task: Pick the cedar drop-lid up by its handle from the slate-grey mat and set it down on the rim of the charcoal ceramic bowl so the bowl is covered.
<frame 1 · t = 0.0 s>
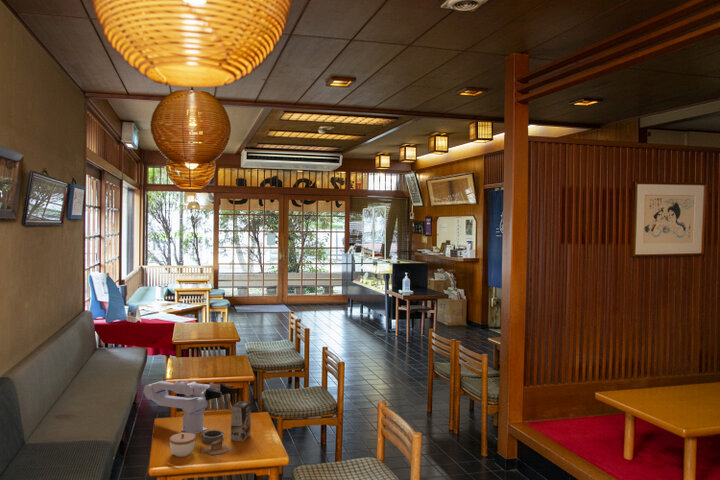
hand: (226, 392, 256), 22 cm above the table, tool horizontal, fingers open, 7 cm apart
lid: (216, 450, 243), resting on mat
lidded jar: (182, 455, 238), on the table
mat: (216, 451, 243), on the table
bowl: (212, 440, 255), on the table
coffee box: (240, 438, 258), on the table
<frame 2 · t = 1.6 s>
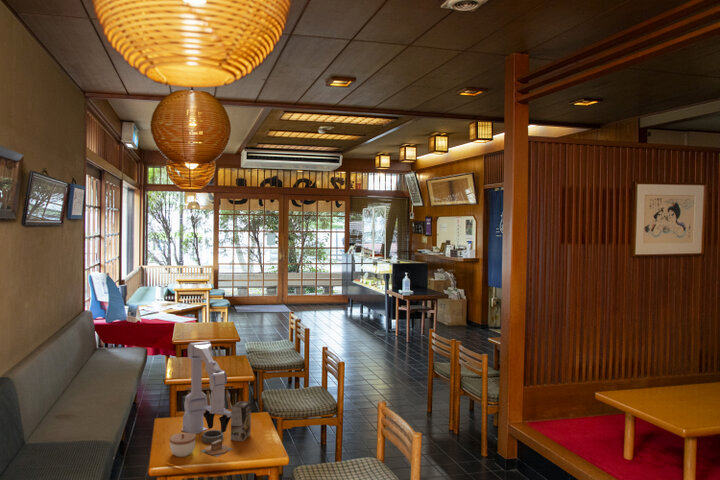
hand: (217, 430, 243), 9 cm above the table, tool pointing down, fingers open, 7 cm apart
nothing on the table moved.
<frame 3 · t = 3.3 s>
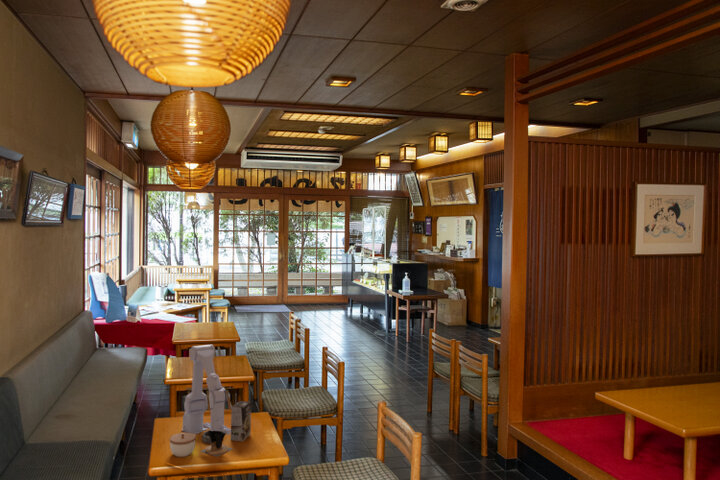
hand: (216, 447, 243), 2 cm above the table, tool pointing down, fingers closed on lid, 2 cm apart
lid: (216, 450, 243), resting on mat, touching gripper
everything else where it was.
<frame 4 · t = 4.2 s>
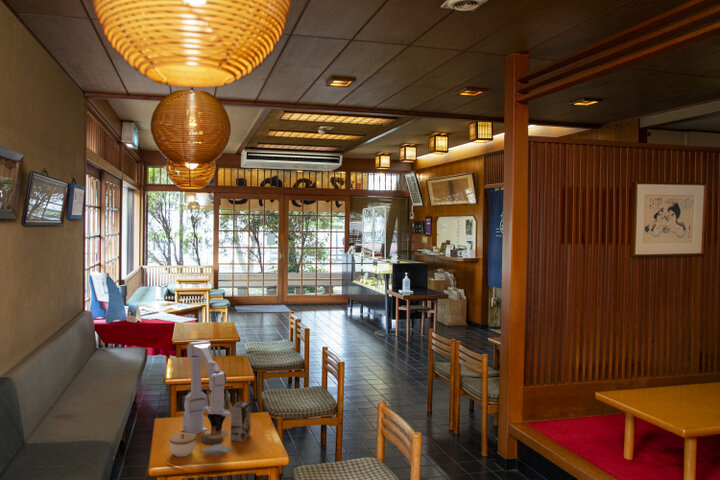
hand: (216, 430, 244), 9 cm above the table, tool pointing down, fingers closed on lid
lid: (216, 434, 244), point 7 cm above the table, touching gripper
everything else where it was.
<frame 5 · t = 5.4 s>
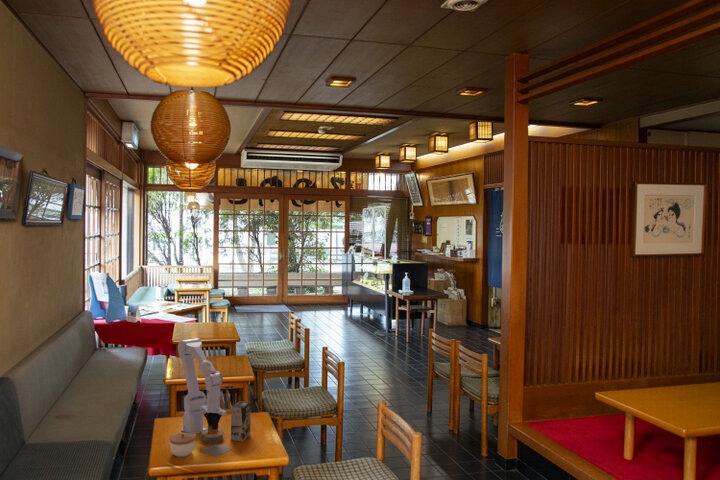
hand: (212, 428, 255), 5 cm above the table, tool pointing down, fingers closed on lid, 2 cm apart
lid: (212, 433, 255), point 3 cm above the table, touching bowl, gripper
everything else where it was.
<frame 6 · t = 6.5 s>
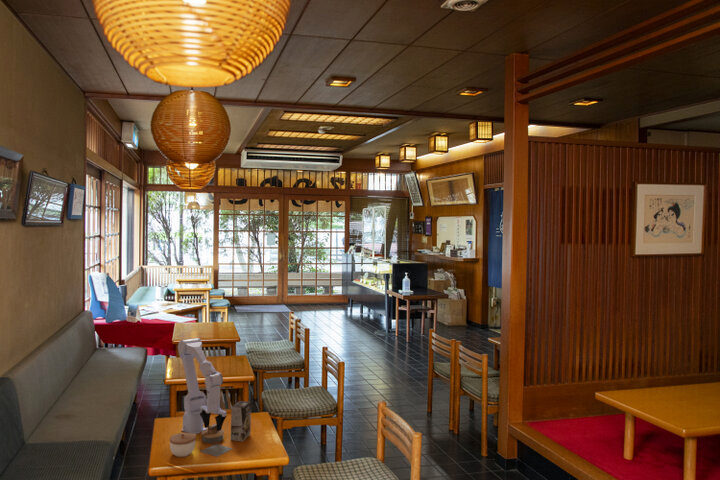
hand: (212, 428, 255), 5 cm above the table, tool pointing down, fingers open, 7 cm apart
lid: (212, 433, 255), point 3 cm above the table, touching bowl
everything else where it was.
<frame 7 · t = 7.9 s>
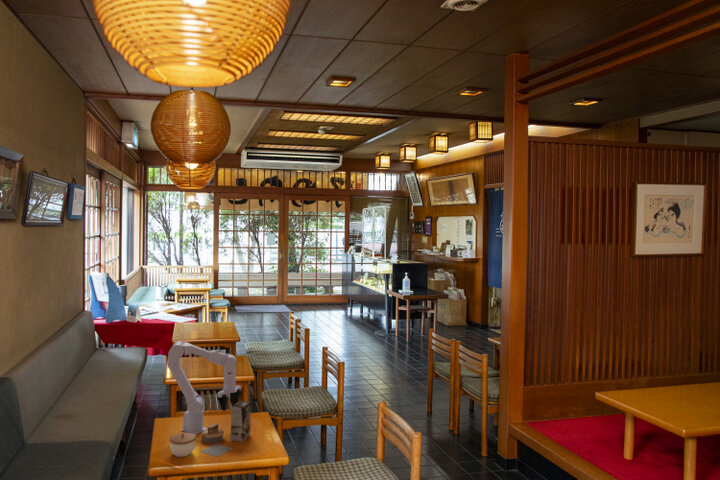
hand: (229, 408, 268), 10 cm above the table, tool pointing down, fingers open, 7 cm apart
nothing on the table moved.
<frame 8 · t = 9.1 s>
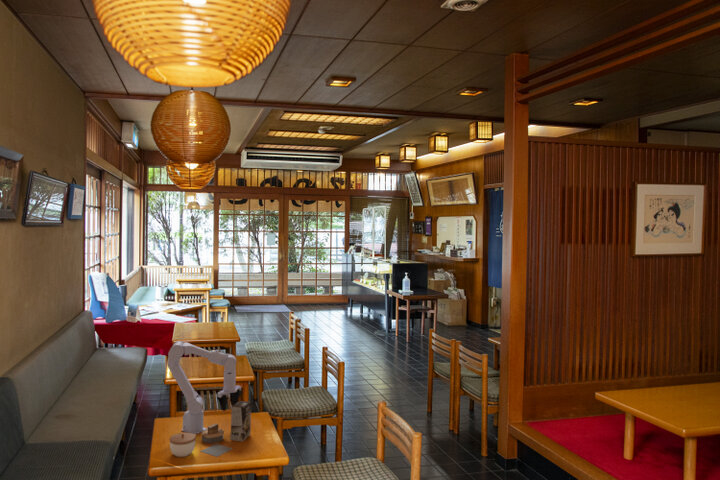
hand: (229, 408, 268), 10 cm above the table, tool pointing down, fingers open, 7 cm apart
nothing on the table moved.
at the end: lid 0.0 cm off-centre on the bowl, point 3.0 cm above the bowl's base; lid tilted 0°; the gripper is holding nothing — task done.
